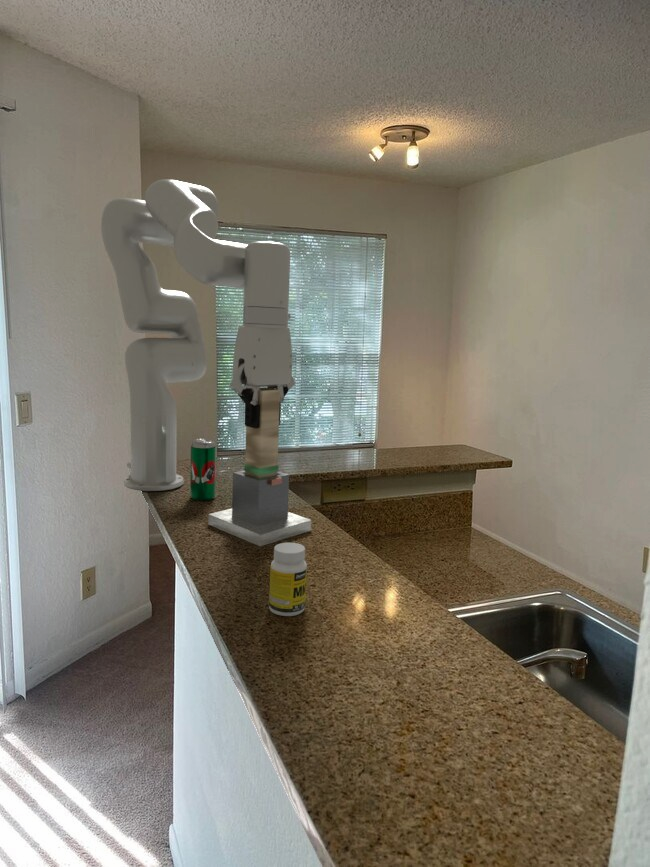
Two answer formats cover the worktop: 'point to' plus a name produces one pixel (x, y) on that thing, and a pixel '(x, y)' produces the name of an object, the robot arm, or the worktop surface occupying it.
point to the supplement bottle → (288, 580)
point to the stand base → (260, 510)
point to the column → (264, 437)
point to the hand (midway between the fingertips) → (262, 424)
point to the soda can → (203, 470)
